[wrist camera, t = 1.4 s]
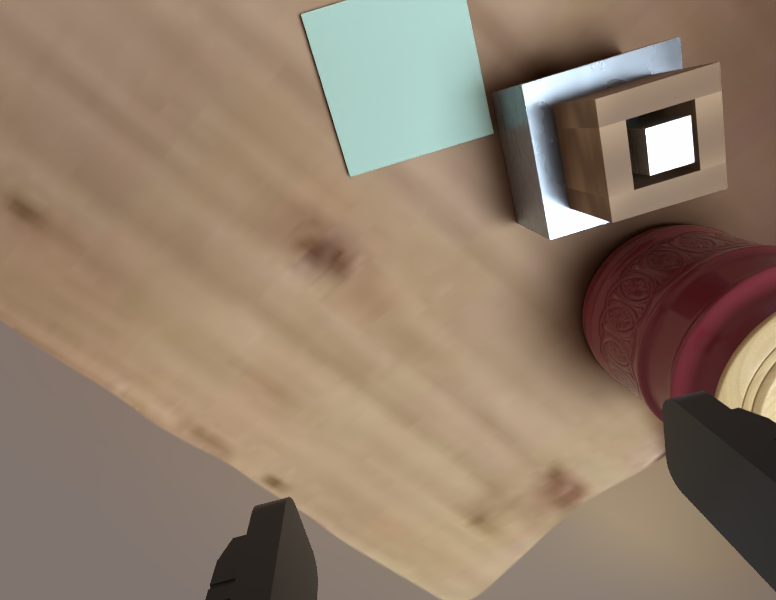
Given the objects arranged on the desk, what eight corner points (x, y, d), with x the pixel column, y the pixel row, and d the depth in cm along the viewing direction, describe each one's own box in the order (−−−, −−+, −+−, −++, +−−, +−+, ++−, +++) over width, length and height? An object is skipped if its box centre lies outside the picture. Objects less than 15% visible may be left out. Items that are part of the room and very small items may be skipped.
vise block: (491, 92, 34) (563, 73, 23) (622, 52, 33) (757, 14, 23) (517, 223, 36) (592, 261, 26) (638, 186, 36) (765, 209, 26)
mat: (301, 15, 31) (300, 14, 31) (457, -32, 31) (459, -35, 31) (349, 176, 34) (350, 176, 34) (491, 133, 34) (493, 133, 34)
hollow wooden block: (553, 104, 28) (595, 99, 24) (656, 73, 28) (719, 61, 24) (570, 208, 30) (612, 223, 26) (666, 179, 30) (727, 188, 25)
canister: (592, 399, 42) (759, 578, 25) (563, 252, 37) (741, 349, 21) (745, 351, 41) (1016, 499, 25) (732, 198, 37) (1050, 251, 21)
